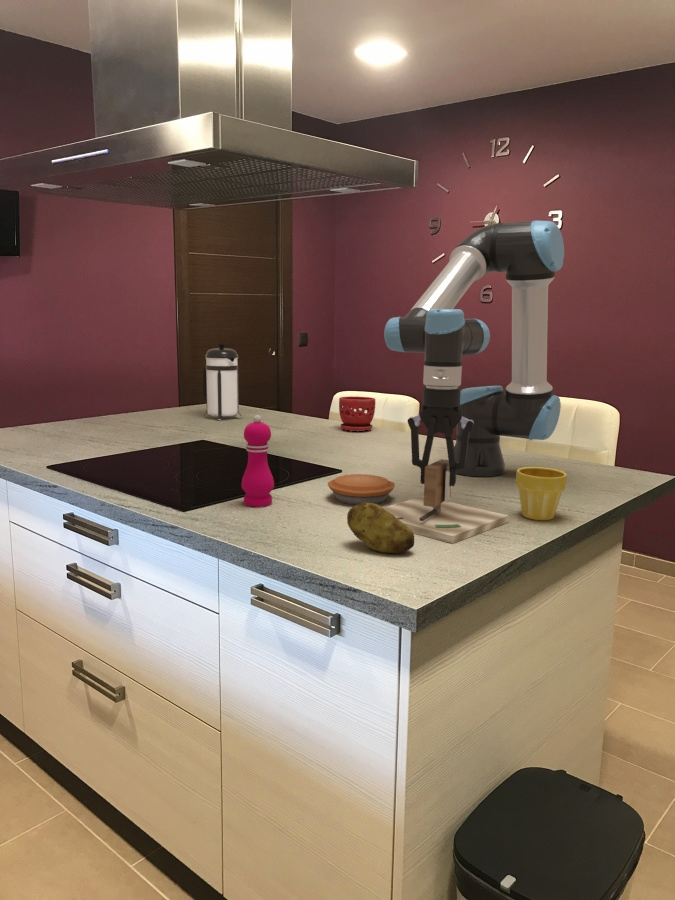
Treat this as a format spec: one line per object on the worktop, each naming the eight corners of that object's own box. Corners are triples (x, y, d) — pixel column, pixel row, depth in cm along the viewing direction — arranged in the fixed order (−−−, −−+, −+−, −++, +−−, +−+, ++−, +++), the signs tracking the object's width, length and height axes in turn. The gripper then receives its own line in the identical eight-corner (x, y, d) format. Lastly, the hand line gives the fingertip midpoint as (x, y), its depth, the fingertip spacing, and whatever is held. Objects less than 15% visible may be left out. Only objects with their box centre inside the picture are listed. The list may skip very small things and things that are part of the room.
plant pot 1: (379, 432, 258) (380, 399, 256) (343, 433, 255) (343, 399, 253) (369, 426, 271) (369, 394, 268) (335, 427, 268) (335, 395, 265)
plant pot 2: (571, 516, 156) (575, 471, 154) (550, 526, 148) (553, 479, 146) (527, 507, 162) (530, 464, 161) (504, 516, 155) (507, 471, 153)
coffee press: (246, 415, 294) (245, 341, 289) (236, 421, 279) (235, 342, 273) (204, 414, 296) (202, 340, 290) (193, 420, 280) (191, 342, 275)
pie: (331, 489, 176) (331, 469, 175) (395, 492, 174) (395, 472, 173) (323, 506, 161) (323, 484, 160) (393, 509, 159) (393, 487, 158)
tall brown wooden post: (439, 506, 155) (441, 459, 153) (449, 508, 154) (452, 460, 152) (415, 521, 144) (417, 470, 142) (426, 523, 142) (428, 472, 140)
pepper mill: (258, 497, 167) (257, 411, 163) (280, 503, 163) (280, 415, 159) (235, 503, 162) (233, 415, 158) (257, 509, 157) (257, 418, 153)
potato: (385, 562, 126) (386, 518, 124) (339, 543, 135) (340, 502, 134) (419, 553, 131) (421, 510, 129) (373, 535, 140) (374, 495, 139)
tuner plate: (423, 502, 165) (423, 495, 165) (508, 522, 150) (508, 514, 150) (365, 519, 151) (365, 511, 151) (452, 543, 136) (452, 535, 136)
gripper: (398, 387, 144) (395, 501, 148) (482, 390, 140) (476, 507, 144) (404, 383, 151) (400, 492, 155) (484, 386, 147) (478, 498, 151)
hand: (437, 499), depth 150 cm, fingers closed on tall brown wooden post, 3 cm apart
